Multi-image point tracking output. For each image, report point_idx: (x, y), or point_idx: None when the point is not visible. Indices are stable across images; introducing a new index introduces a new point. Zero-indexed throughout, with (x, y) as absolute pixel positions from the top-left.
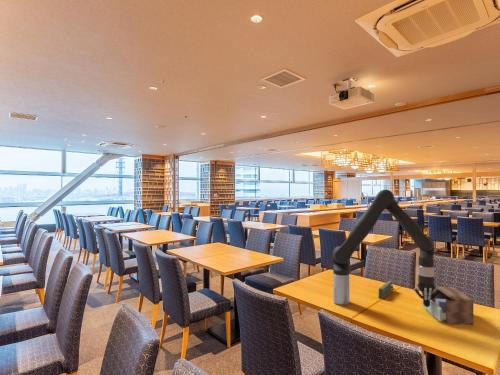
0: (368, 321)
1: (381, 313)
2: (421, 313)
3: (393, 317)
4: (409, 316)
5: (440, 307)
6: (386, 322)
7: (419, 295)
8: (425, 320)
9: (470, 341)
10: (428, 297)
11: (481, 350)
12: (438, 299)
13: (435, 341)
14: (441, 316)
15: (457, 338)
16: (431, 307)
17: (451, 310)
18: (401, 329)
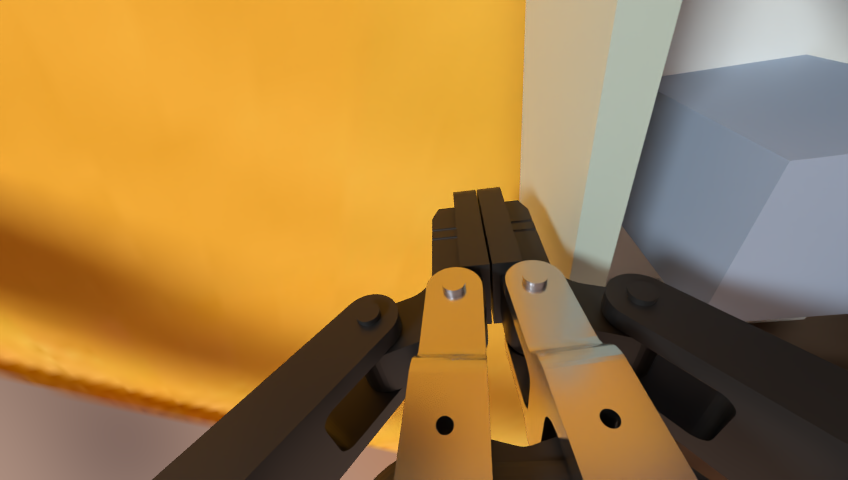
0: (49, 352)
1: (33, 226)
2: (418, 114)
3: (163, 274)
4: (286, 227)
5: (654, 257)
6: (152, 343)
7: (331, 427)
8: (415, 267)
9: None
10: (522, 381)
11: None
12: (824, 198)
13: None
14: None
15: (518, 401)
16: (540, 214)
17: None
18: (255, 385)
